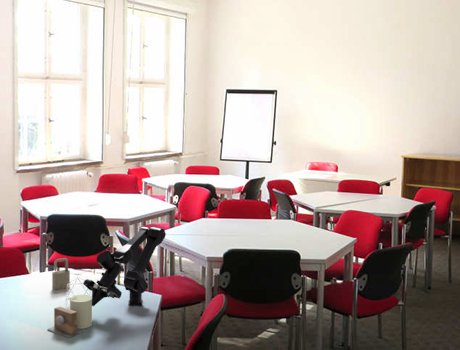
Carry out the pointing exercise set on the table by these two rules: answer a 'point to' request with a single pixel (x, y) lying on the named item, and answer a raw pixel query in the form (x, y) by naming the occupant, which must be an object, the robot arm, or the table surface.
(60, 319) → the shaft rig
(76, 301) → the can
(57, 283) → the padlock
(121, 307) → the table surface
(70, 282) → the geometric polyhedron
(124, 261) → the robot arm
